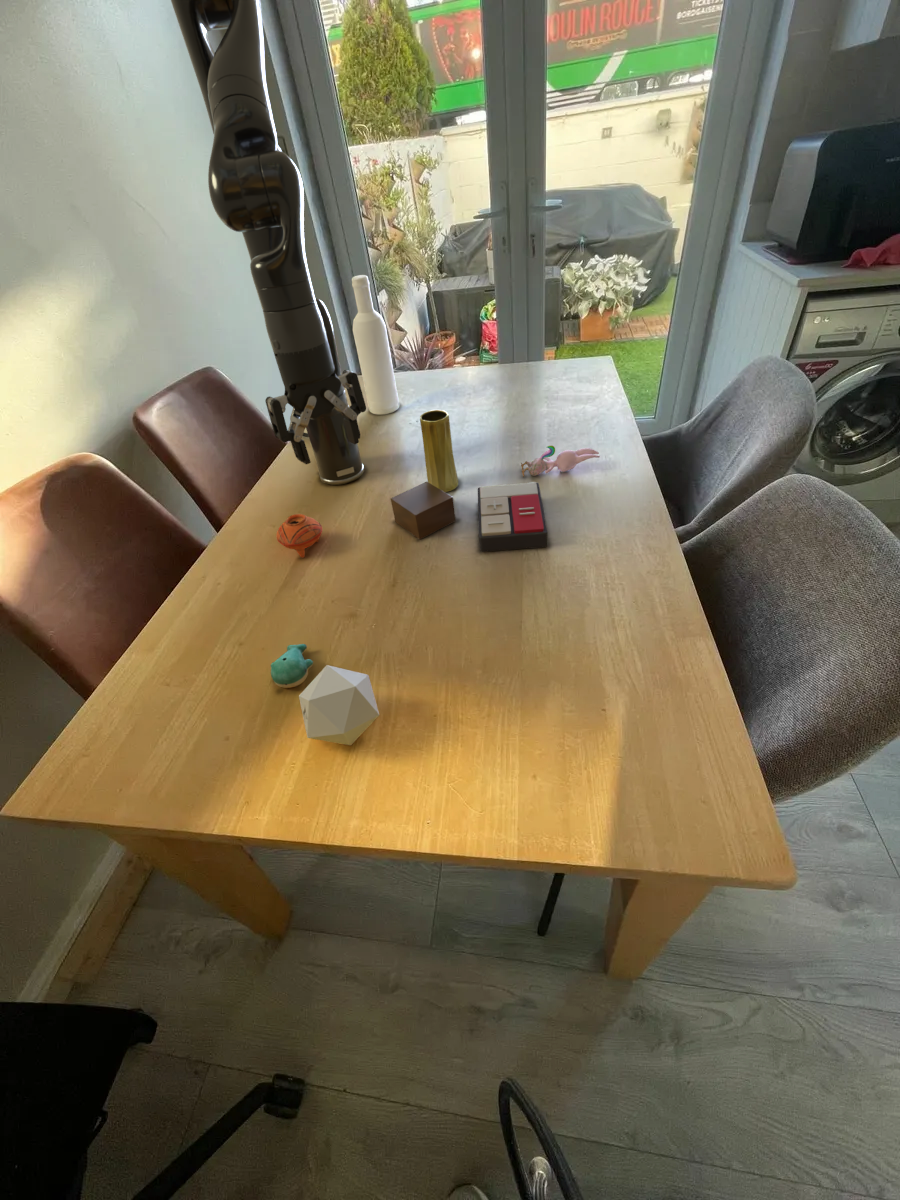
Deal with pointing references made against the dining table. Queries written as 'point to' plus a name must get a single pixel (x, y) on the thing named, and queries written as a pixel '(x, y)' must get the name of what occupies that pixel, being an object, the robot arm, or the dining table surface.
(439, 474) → the vase
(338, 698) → the die
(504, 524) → the calculator
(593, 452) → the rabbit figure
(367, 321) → the bottle
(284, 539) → the pot
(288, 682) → the whale figurine
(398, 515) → the walnut block
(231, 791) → the dining table surface
